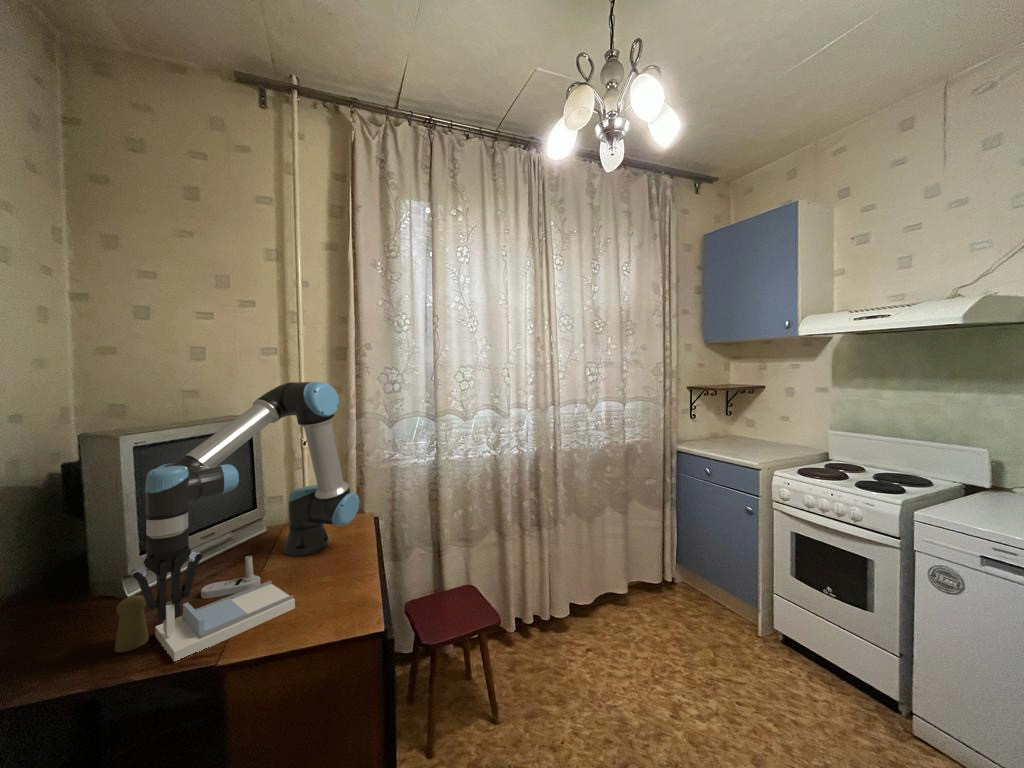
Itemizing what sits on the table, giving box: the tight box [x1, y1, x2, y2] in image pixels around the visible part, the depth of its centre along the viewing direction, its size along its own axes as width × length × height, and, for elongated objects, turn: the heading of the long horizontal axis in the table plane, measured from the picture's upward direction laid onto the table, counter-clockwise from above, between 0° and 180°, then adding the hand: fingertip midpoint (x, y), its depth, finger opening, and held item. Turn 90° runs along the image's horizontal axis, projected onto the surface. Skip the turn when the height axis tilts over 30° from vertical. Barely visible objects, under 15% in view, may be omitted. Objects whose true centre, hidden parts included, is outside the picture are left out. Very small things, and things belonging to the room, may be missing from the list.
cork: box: [113, 594, 150, 653], centre depth 94 cm, size 6×6×11 cm
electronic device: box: [200, 555, 261, 600], centre depth 117 cm, size 5×10×15 cm
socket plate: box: [154, 580, 296, 663], centre depth 102 cm, size 26×16×3 cm, turn 144°
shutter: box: [182, 598, 247, 637], centre depth 100 cm, size 10×12×4 cm
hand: (169, 631), depth 92 cm, fingers closed
